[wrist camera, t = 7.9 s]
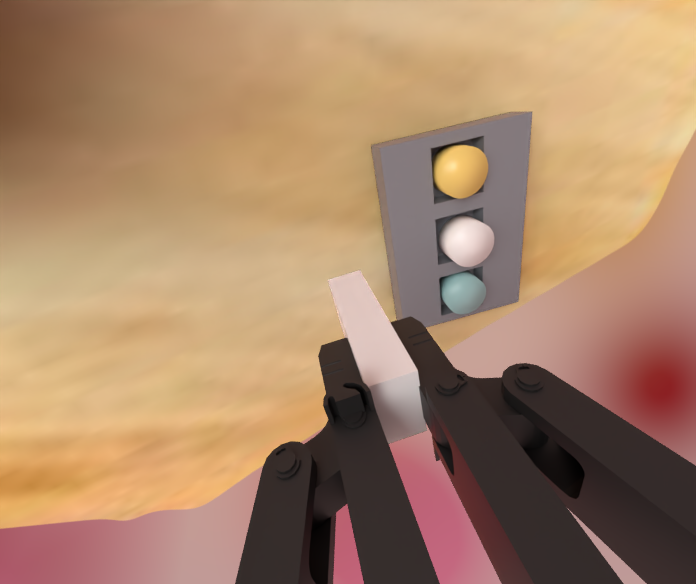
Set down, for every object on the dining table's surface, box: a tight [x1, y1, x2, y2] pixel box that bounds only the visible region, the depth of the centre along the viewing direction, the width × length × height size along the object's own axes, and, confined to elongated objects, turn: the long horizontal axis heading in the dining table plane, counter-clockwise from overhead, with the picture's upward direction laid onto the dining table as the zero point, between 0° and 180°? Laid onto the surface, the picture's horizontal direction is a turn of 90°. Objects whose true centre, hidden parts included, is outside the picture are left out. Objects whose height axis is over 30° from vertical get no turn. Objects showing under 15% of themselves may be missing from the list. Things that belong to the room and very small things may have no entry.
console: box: [371, 112, 532, 328], centre depth 35 cm, size 20×14×3 cm
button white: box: [438, 215, 494, 267], centre depth 33 cm, size 4×4×3 cm
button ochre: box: [431, 144, 488, 199], centre depth 31 cm, size 4×4×3 cm
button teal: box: [439, 270, 486, 314], centre depth 37 cm, size 4×4×3 cm
